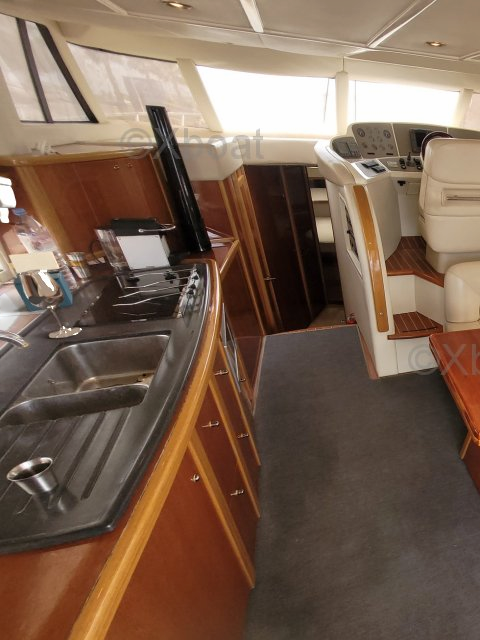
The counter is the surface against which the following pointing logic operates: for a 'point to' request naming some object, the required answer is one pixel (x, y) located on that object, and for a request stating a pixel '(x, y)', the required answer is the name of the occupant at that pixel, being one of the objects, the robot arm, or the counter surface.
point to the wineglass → (46, 297)
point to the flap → (34, 261)
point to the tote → (59, 280)
